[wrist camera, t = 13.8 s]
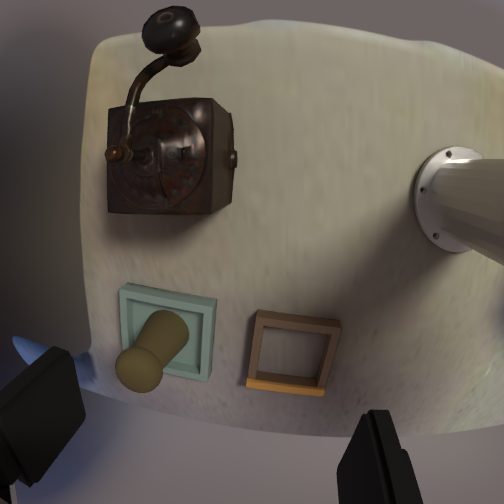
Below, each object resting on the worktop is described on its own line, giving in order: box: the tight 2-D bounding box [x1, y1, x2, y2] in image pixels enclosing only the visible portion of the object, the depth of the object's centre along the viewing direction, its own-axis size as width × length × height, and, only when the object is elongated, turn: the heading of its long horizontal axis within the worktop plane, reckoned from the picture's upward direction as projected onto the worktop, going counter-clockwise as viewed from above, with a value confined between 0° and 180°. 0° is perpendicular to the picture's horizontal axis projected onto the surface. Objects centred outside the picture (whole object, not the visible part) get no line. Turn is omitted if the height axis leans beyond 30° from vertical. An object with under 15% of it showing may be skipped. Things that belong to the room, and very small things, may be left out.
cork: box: [115, 310, 189, 393], centre depth 35 cm, size 6×6×11 cm
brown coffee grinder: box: [105, 6, 237, 215], centre depth 26 cm, size 16×11×18 cm
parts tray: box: [119, 283, 217, 382], centre depth 39 cm, size 12×11×2 cm
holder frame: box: [246, 310, 342, 397], centre depth 38 cm, size 10×10×2 cm
